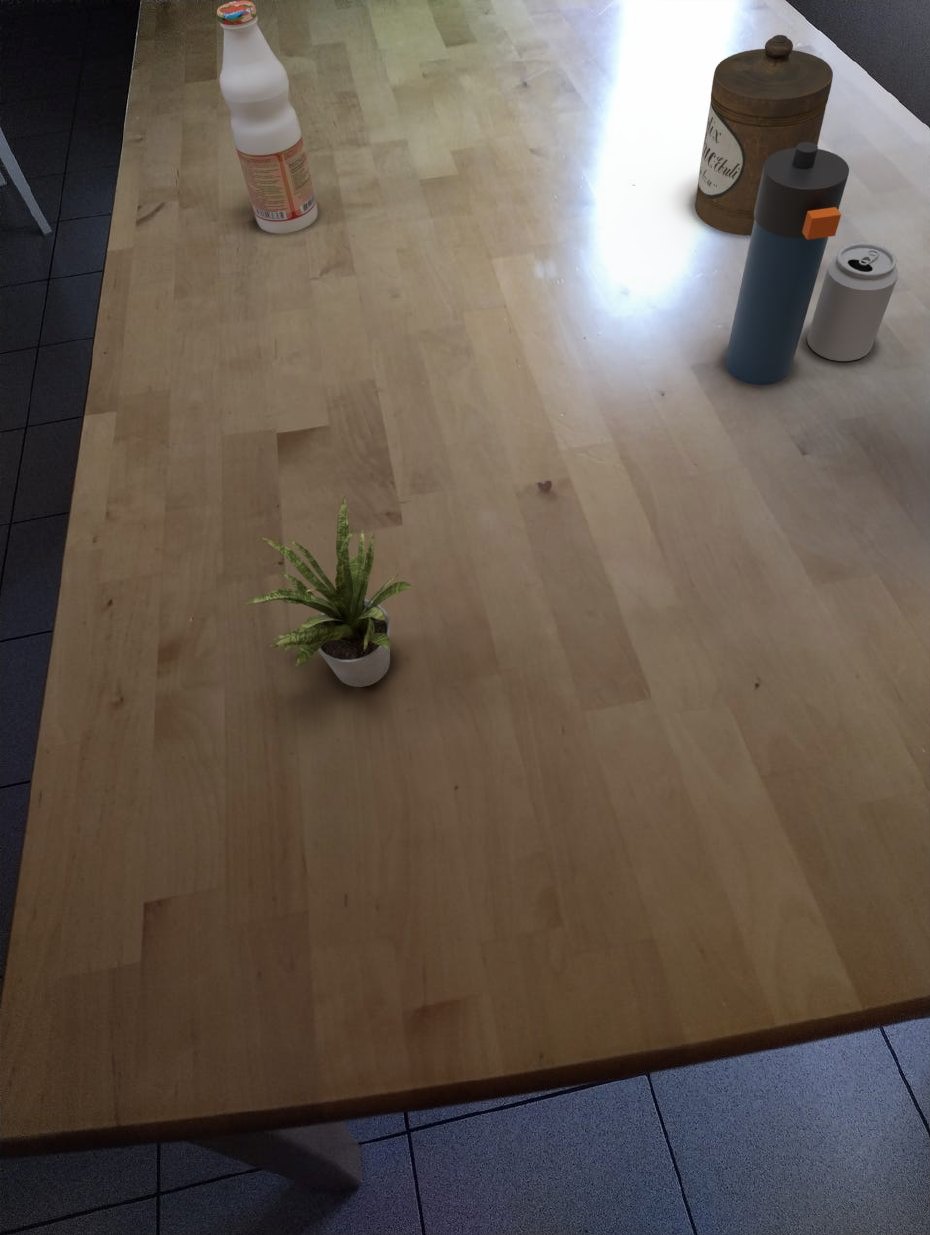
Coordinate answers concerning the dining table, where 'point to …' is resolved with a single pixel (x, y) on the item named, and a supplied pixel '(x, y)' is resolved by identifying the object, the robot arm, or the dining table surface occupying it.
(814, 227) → the orange block
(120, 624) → the dining table surface
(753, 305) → the bottle
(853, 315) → the can
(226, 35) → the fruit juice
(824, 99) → the wooden container
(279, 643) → the house plant
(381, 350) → the dining table surface
